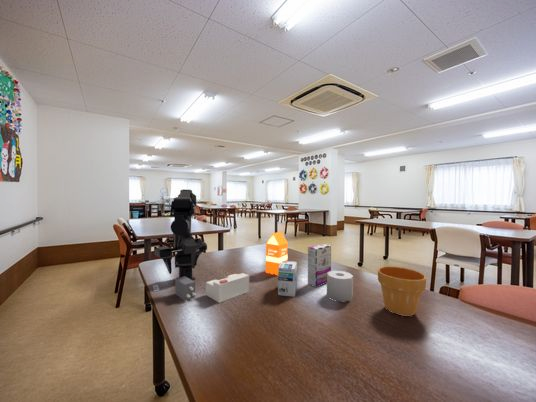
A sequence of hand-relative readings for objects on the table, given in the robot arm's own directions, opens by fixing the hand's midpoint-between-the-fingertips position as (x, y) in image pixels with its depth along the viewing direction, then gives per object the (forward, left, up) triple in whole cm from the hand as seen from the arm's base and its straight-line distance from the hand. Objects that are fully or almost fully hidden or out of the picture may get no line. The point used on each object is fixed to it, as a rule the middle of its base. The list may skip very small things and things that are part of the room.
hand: (182, 270), depth 91 cm
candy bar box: (+31, +49, -9) cm, 58 cm away
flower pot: (+64, +47, -9) cm, 80 cm away
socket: (+13, +13, -9) cm, 20 cm away
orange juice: (+8, +46, -9) cm, 47 cm away
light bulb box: (+27, +32, -9) cm, 43 cm away
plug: (+3, 0, -9) cm, 9 cm away
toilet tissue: (+43, +43, -9) cm, 62 cm away
